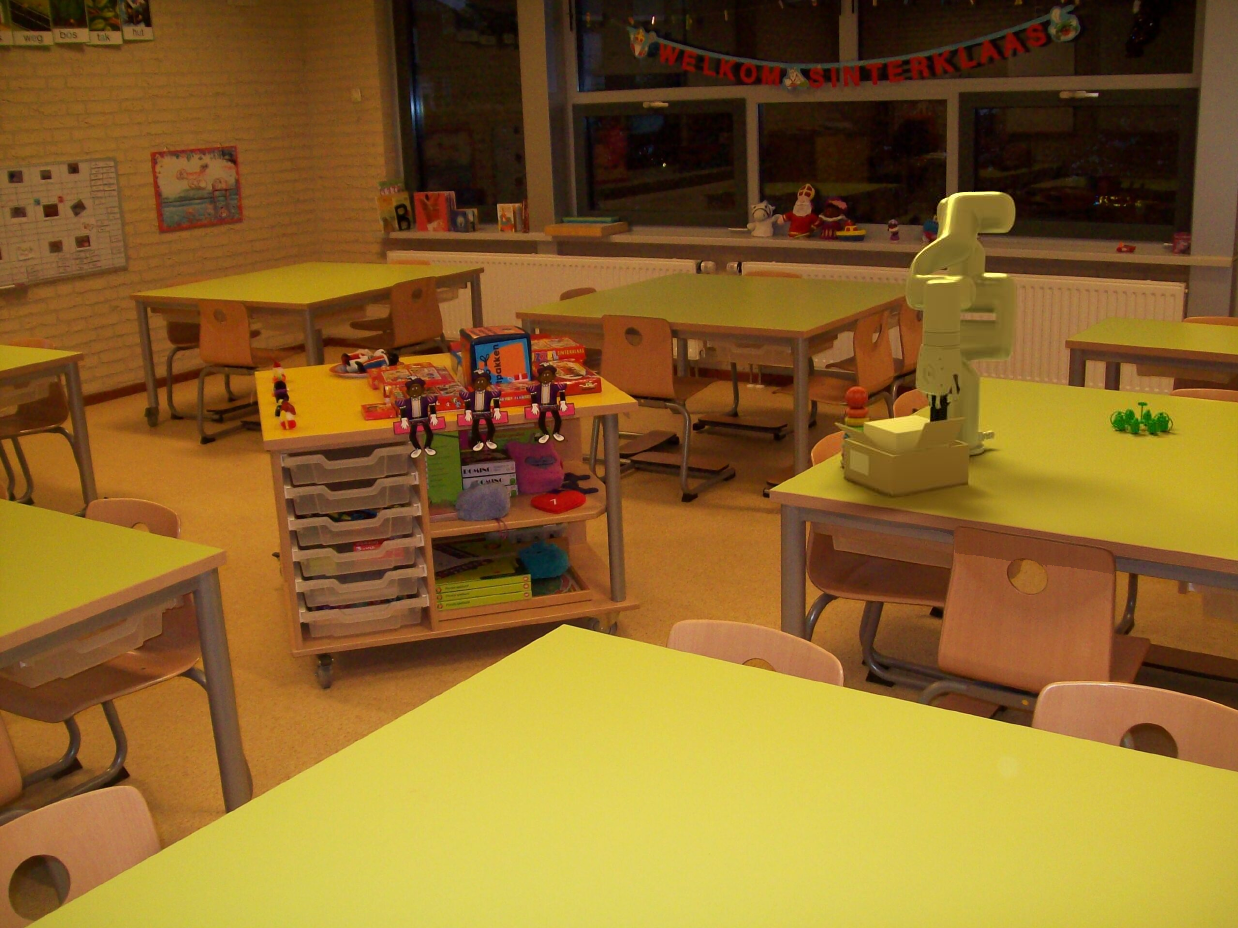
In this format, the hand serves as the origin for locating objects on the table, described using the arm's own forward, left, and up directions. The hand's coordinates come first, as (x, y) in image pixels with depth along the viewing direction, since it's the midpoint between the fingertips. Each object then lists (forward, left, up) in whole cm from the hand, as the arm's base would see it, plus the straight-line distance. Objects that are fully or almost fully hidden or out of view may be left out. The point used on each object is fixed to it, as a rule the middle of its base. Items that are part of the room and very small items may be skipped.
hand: (938, 425), depth 258 cm
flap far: (+13, -10, -2) cm, 17 cm away
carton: (+1, -10, -15) cm, 18 cm away
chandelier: (-79, -20, -15) cm, 82 cm away
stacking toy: (+2, -26, -15) cm, 30 cm away
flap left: (0, 0, -1) cm, 2 cm away
